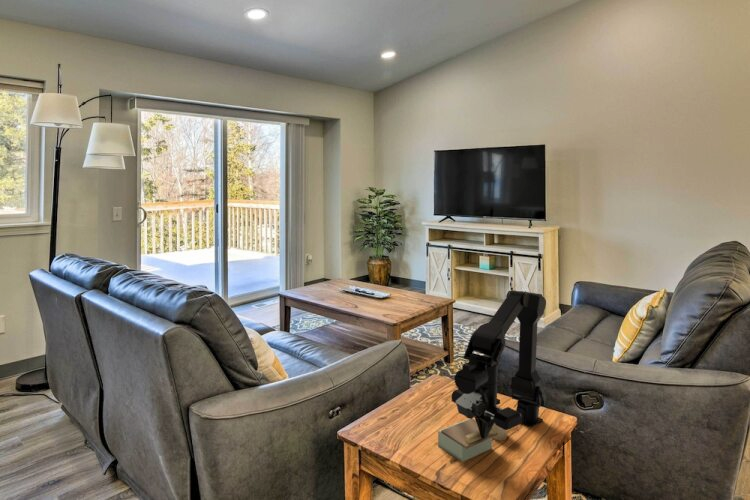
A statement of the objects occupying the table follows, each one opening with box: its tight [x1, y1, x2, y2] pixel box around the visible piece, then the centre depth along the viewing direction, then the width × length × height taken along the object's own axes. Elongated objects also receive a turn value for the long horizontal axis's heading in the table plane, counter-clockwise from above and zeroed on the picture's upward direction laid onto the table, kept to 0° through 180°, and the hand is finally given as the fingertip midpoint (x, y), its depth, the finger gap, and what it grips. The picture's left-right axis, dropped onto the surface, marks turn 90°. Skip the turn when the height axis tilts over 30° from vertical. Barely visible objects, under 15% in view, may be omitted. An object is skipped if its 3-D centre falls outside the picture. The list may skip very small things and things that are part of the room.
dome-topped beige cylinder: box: [492, 423, 508, 441], centre depth 128 cm, size 5×5×5 cm
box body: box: [437, 418, 493, 463], centre depth 122 cm, size 11×9×4 cm
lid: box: [440, 418, 498, 449], centre depth 121 cm, size 12×9×2 cm
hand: (483, 438), depth 117 cm, fingers closed
